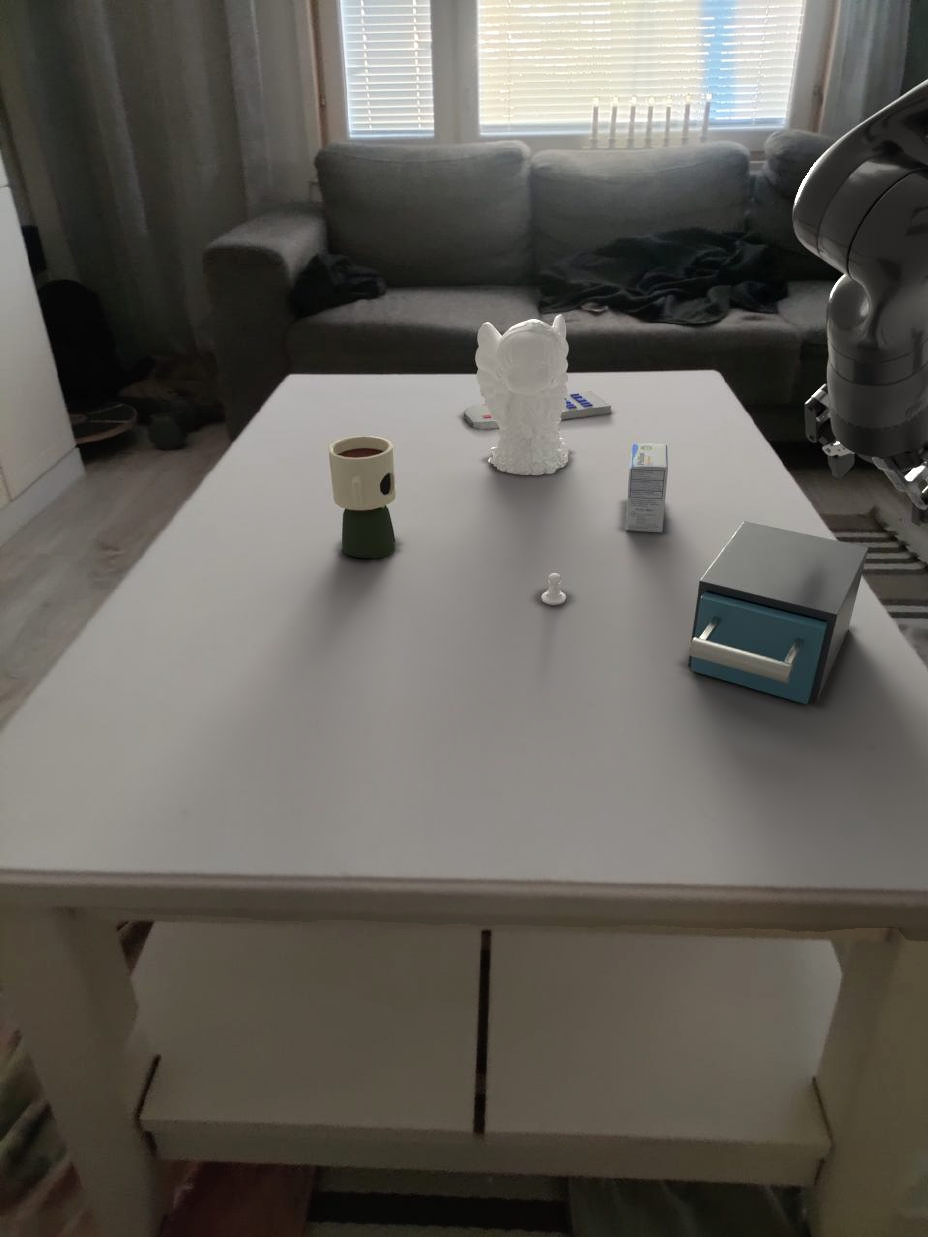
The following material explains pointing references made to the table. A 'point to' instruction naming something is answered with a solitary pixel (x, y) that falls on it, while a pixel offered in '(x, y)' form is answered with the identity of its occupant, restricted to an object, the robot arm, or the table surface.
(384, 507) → the character mug
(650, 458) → the medicine box
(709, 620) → the open teal drawer
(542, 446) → the cherub figurine
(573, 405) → the remote control
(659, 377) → the table surface
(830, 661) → the small drawer unit
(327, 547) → the table surface
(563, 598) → the chess pawn
